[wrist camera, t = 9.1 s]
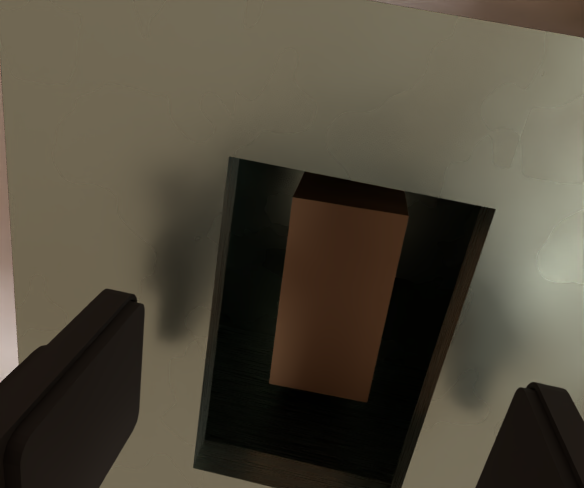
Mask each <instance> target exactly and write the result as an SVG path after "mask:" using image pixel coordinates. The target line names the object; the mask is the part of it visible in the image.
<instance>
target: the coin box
mask: <svg viewBox="0 0 584 488" xmlns="http://www.w3.org/2000/svg"><path fill="white" fill-rule="evenodd" d="M0 61H1V77H2V94H3V110H4V127H5V144H6V160H7V177H8V193H9V210H10V226H11V243H12V260H13V276H14V293H15V309H16V326H17V343H18V359H19V364H20V363H22V362H23V361H24V360H25V359H26V358H27V357H28V356H29V355H30V354H31V353H32V352H33V351H34V350H36V349H37V348H38V347H40V346H43V345H47V344H48V343H49V342H50V341H51V340H52V339H53V338H54V337H55V336H56V335H57V334H58V333H59V332H61V331H62V330H63V329H64V328H65V327H66V326H67V325H68V324H69V323H70V322H71V321H72V320H73V319H74V318H75V317H76V316H77V315H78V314H79V313H80V312H81V311H82V310H83V309H84V308H85V307H86V306H87V305H88V304H89V303H90V302H91V301H92V300H93V299H94V298H95V297H96V296H97V295H99V294H100V293H101V292H102V291H103V290H104V289H113V290H117V291H122V292H126V293H131V294H135V295H136V297H137V303H141V304H143V305H144V307H145V318H144V336H143V354H142V372H141V390H140V408H139V416H138V420H137V423H136V426H135V428H134V430H133V432H132V433H131V435H130V437H129V439H128V440H127V442H126V444H125V445H124V447H123V449H122V450H121V452H120V454H119V455H118V457H117V459H116V460H115V462H114V464H113V465H112V467H111V469H110V470H109V472H108V474H107V475H106V477H105V479H104V480H103V482H102V484H101V486H100V487H99V488H475V487H476V485H477V482H478V480H479V478H480V475H481V473H482V470H483V468H484V466H485V463H486V461H487V458H488V456H489V454H490V451H491V449H492V446H493V444H494V442H495V439H496V437H497V435H498V432H499V430H500V427H501V425H502V423H503V420H504V418H505V415H506V413H507V411H508V408H509V406H510V403H511V401H512V399H513V396H514V394H515V392H516V390H517V389H518V388H520V387H523V388H526V387H527V385H528V384H529V383H531V382H537V383H541V384H546V385H550V386H555V387H560V388H563V389H566V390H567V392H568V393H569V394H570V396H571V398H572V400H573V402H574V404H575V406H576V408H577V410H578V411H579V413H580V415H581V417H582V419H583V421H584V38H582V37H577V36H571V35H565V34H559V33H553V32H548V31H542V30H536V29H530V28H525V27H519V26H513V25H507V24H502V23H496V22H490V21H484V20H479V19H473V18H467V17H461V16H455V15H450V14H444V13H438V12H432V11H427V10H421V9H415V8H409V7H404V6H398V5H392V4H386V3H381V2H375V1H369V0H0ZM305 171H306V172H311V173H316V174H321V175H326V176H331V177H337V178H342V179H347V180H352V181H357V182H362V183H367V184H372V185H377V186H382V187H387V188H392V189H397V190H402V191H405V197H406V202H407V208H408V214H409V218H408V222H407V227H406V231H405V236H404V240H403V245H402V249H401V254H400V258H399V262H398V267H397V271H396V276H395V280H394V285H393V289H392V294H391V298H390V303H389V307H388V311H387V316H386V320H385V325H384V329H383V334H382V338H381V343H380V347H379V352H378V356H377V361H376V365H375V369H374V374H373V378H372V383H371V387H370V392H369V396H368V401H367V402H362V401H357V400H351V399H346V398H341V397H336V396H331V395H326V394H320V393H315V392H310V391H305V390H300V389H295V388H289V387H284V386H279V385H274V384H269V379H270V371H271V364H272V356H273V348H274V340H275V332H276V324H277V316H278V309H279V301H280V293H281V285H282V277H283V269H284V261H285V254H286V246H287V238H288V230H289V222H290V214H291V206H292V199H293V195H294V193H295V191H296V189H297V187H298V185H299V183H300V181H301V179H302V176H303V174H304V172H305Z"/></svg>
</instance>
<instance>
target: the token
mask: <svg viewBox="0 0 584 488" xmlns="http://www.w3.org/2000/svg"><path fill="white" fill-rule="evenodd" d="M408 218H409V214H408V208H407V202H406V197H405V191H402V190H397V189H392V188H387V187H382V186H377V185H372V184H367V183H362V182H357V181H352V180H347V179H342V178H337V177H331V176H326V175H321V174H316V173H311V172H306V171H305V172H304V174H303V176H302V179H301V181H300V183H299V185H298V187H297V189H296V191H295V193H294V195H293V199H292V206H291V214H290V222H289V230H288V238H287V246H286V254H285V261H284V269H283V277H282V285H281V293H280V301H279V309H278V316H277V324H276V332H275V340H274V348H273V356H272V364H271V371H270V379H269V384H274V385H279V386H284V387H289V388H295V389H300V390H305V391H310V392H315V393H320V394H326V395H331V396H336V397H341V398H346V399H351V400H357V401H362V402H367V401H368V396H369V392H370V387H371V383H372V378H373V374H374V369H375V365H376V361H377V356H378V352H379V347H380V343H381V338H382V334H383V329H384V325H385V320H386V316H387V311H388V307H389V303H390V298H391V294H392V289H393V285H394V280H395V276H396V271H397V267H398V262H399V258H400V254H401V249H402V245H403V240H404V236H405V231H406V227H407V222H408Z"/></svg>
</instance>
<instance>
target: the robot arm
mask: <svg viewBox="0 0 584 488" xmlns="http://www.w3.org/2000/svg"><path fill="white" fill-rule="evenodd" d="M144 318H145V307H144V305H143V304H141V303H137V297H136V295H135V294H131V293H126V292H122V291H117V290H113V289H104V290H103V291H102V292H101V293H100V294H99V295H97V296H96V297H95V298H94V299H93V300H92V301H91V302H90V303H89V304H88V305H87V306H86V307H85V308H84V309H83V310H82V311H81V312H80V313H79V314H78V315H77V316H76V317H75V318H74V319H73V320H72V321H71V322H70V323H69V324H68V325H67V326H66V327H65V328H64V329H63V330H62V331H61V332H59V333H58V334H57V335H56V336H55V337H54V338H53V339H52V340H51V341H50V342H49V343H48V344H47V345H43V346H40V347H38V348H37V349H36V350H34V351H33V352H32V353H31V354H30V355H29V356H28V357H27V358H26V359H25V360H24V361H23V362H22V363H20V364H19V365H18V366H17V367H16V368H15V369H14V370H13V371H12V372H11V373H10V374H9V375H8V376H7V377H6V378H5V379H4V380H3V381H2V382H1V383H0V488H99V487H100V486H101V484H102V482H103V480H104V479H105V477H106V475H107V474H108V472H109V470H110V469H111V467H112V465H113V464H114V462H115V460H116V459H117V457H118V455H119V454H120V452H121V450H122V449H123V447H124V445H125V444H126V442H127V440H128V439H129V437H130V435H131V433H132V432H133V430H134V428H135V426H136V423H137V420H138V416H139V408H140V390H141V372H142V354H143V336H144ZM475 488H584V421H583V419H582V417H581V415H580V413H579V411H578V410H577V408H576V406H575V404H574V402H573V400H572V398H571V396H570V394H569V393H568V392H567V390H566V389H563V388H560V387H555V386H550V385H546V384H541V383H537V382H531V383H529V384H528V385H527V387H526V388H523V387H520V388H518V389H517V390H516V392H515V394H514V396H513V399H512V401H511V403H510V406H509V408H508V411H507V413H506V415H505V418H504V420H503V423H502V425H501V427H500V430H499V432H498V435H497V437H496V439H495V442H494V444H493V446H492V449H491V451H490V454H489V456H488V458H487V461H486V463H485V466H484V468H483V470H482V473H481V475H480V478H479V480H478V482H477V485H476V487H475Z"/></svg>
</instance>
